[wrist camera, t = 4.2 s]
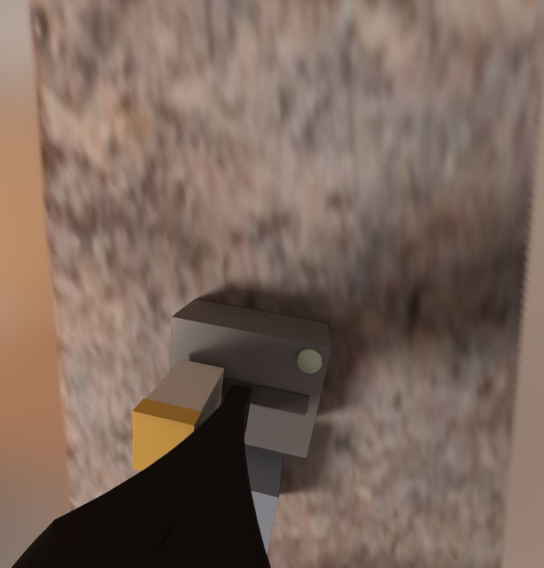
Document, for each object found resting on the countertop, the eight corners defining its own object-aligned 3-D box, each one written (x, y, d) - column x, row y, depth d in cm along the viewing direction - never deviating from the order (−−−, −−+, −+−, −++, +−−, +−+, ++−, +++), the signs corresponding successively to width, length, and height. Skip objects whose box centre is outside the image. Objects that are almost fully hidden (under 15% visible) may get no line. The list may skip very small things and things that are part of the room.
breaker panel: (306, 418, 15) (306, 464, 12) (189, 392, 15) (164, 430, 13) (327, 323, 13) (332, 351, 10) (195, 298, 14) (167, 319, 11)
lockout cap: (273, 495, 17) (264, 567, 13) (199, 477, 17) (172, 541, 14) (285, 435, 15) (278, 497, 12) (204, 416, 16) (176, 471, 12)
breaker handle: (220, 413, 12) (190, 483, 9) (177, 404, 12) (133, 468, 9) (225, 367, 11) (194, 425, 8) (179, 358, 11) (132, 411, 8)
